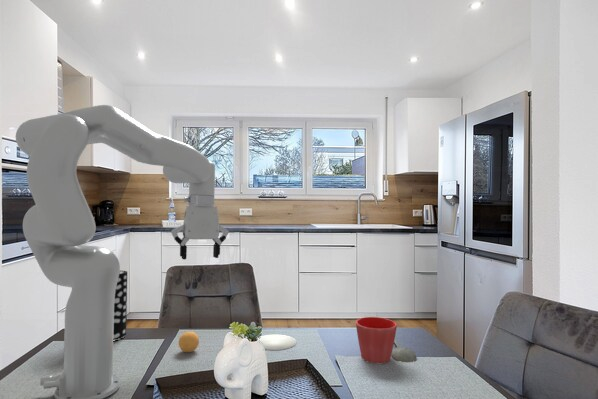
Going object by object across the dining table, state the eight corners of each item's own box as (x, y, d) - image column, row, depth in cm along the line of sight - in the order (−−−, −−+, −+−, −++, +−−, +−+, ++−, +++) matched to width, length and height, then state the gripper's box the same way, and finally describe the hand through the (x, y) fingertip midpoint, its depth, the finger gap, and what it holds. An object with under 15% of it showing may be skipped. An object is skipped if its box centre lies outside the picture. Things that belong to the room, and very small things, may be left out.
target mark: (258, 352, 107) (258, 351, 107) (249, 337, 119) (249, 336, 119) (302, 347, 111) (302, 346, 111) (288, 333, 123) (288, 332, 123)
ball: (178, 356, 103) (178, 336, 103) (178, 349, 108) (178, 329, 109) (199, 354, 105) (199, 334, 105) (198, 347, 110) (198, 328, 110)
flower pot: (397, 368, 97) (397, 329, 97) (354, 364, 99) (354, 326, 100) (395, 352, 108) (395, 318, 108) (356, 349, 110) (356, 315, 110)
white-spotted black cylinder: (131, 333, 121) (132, 270, 122) (116, 343, 113) (117, 275, 113) (106, 332, 122) (108, 270, 123) (90, 341, 114) (91, 274, 114)
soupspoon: (393, 367, 101) (418, 368, 101) (394, 354, 101) (419, 356, 101) (379, 336, 123) (399, 337, 123) (379, 325, 123) (400, 327, 123)
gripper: (174, 200, 108) (173, 261, 108) (233, 202, 117) (231, 258, 116) (169, 201, 115) (168, 258, 114) (225, 202, 123) (223, 255, 123)
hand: (200, 258), depth 115 cm, fingers open, 9 cm apart
